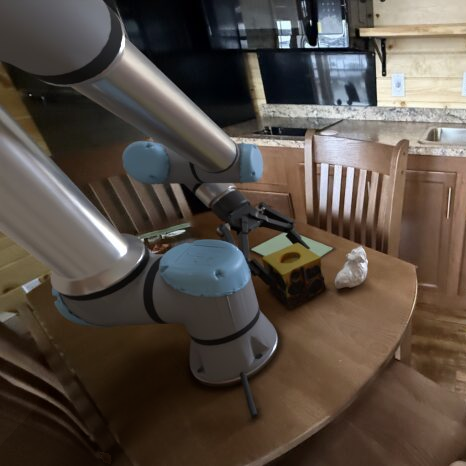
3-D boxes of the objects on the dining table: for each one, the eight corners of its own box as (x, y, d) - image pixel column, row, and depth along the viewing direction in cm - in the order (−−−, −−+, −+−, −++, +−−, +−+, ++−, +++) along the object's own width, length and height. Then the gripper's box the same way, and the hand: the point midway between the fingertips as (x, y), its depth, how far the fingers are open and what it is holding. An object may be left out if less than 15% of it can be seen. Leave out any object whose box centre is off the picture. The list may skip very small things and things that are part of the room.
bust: (341, 302, 78) (363, 281, 71) (320, 280, 78) (340, 257, 71) (367, 276, 87) (389, 255, 80) (348, 256, 87) (368, 234, 80)
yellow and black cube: (326, 290, 78) (322, 256, 73) (290, 310, 72) (282, 275, 67) (304, 272, 84) (299, 241, 79) (269, 290, 78) (260, 257, 73)
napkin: (333, 248, 95) (333, 248, 95) (297, 272, 85) (297, 271, 84) (288, 231, 104) (288, 230, 104) (250, 250, 94) (250, 249, 94)
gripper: (255, 189, 84) (311, 247, 87) (169, 232, 63) (246, 305, 67) (268, 172, 80) (326, 233, 83) (180, 213, 59) (261, 292, 63)
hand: (290, 266), depth 75 cm, fingers open, 13 cm apart
